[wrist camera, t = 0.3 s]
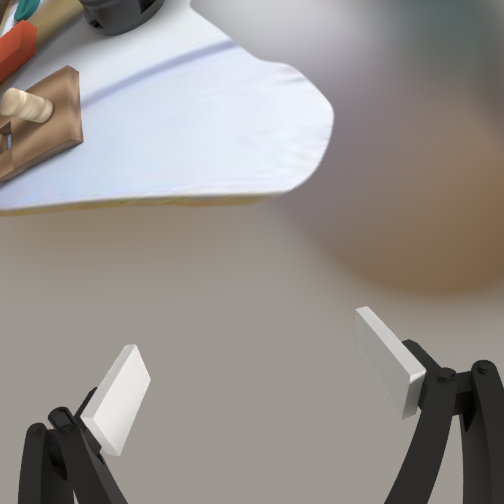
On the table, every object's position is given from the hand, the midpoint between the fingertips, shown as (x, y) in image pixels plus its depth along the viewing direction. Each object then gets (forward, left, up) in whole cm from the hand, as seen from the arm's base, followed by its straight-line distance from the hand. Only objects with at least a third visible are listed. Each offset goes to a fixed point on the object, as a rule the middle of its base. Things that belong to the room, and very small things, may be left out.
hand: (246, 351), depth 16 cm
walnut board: (-30, -34, -28) cm, 53 cm away
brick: (-52, -44, -28) cm, 73 cm away
